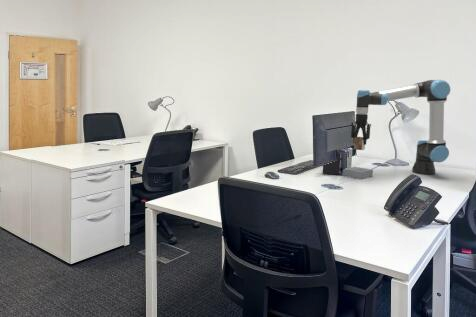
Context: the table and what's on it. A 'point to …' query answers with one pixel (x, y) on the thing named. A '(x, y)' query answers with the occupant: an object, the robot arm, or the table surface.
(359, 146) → the walnut block
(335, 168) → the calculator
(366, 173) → the slate base
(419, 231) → the table surface
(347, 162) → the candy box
